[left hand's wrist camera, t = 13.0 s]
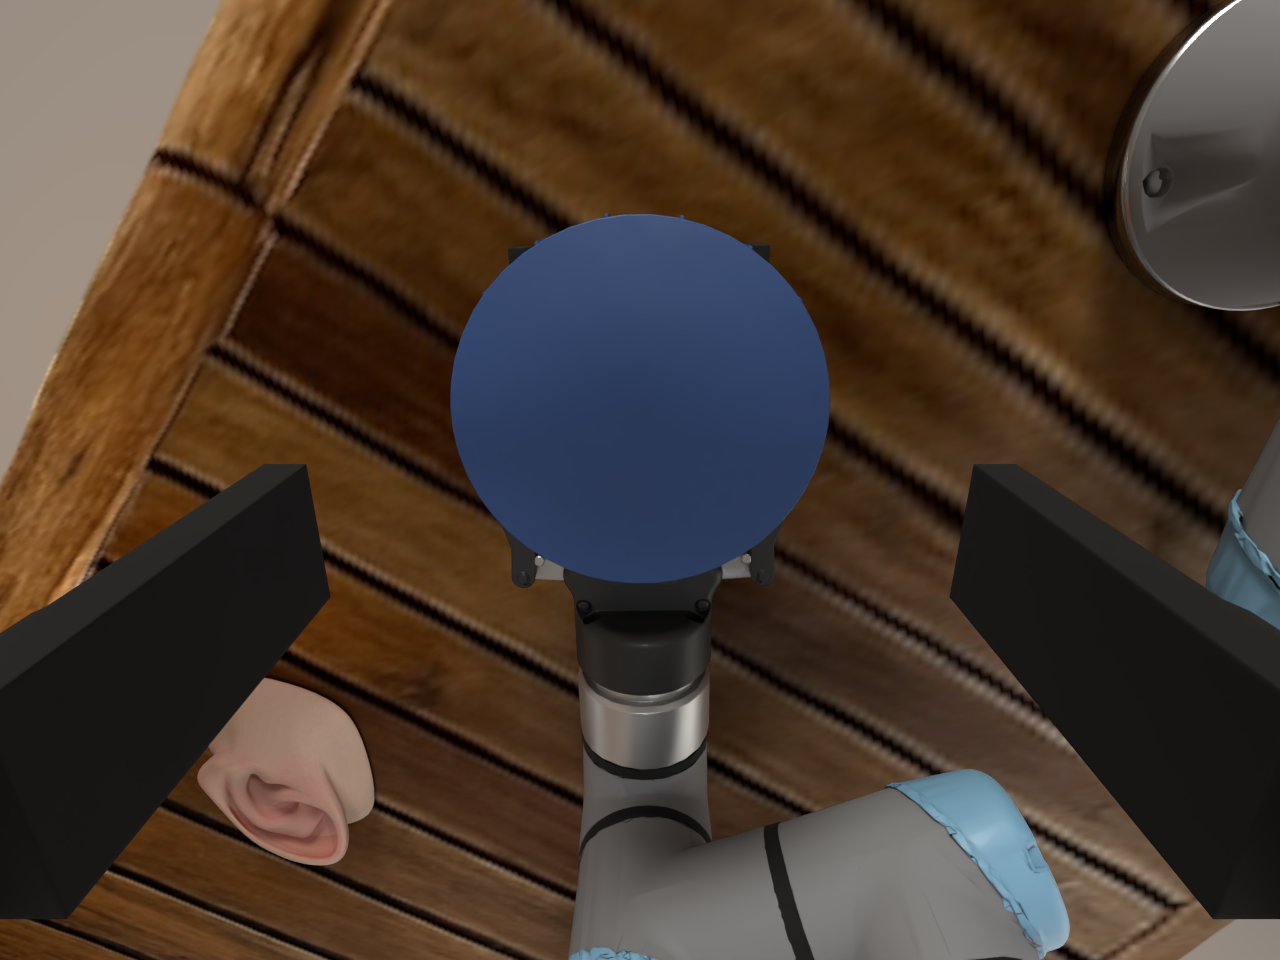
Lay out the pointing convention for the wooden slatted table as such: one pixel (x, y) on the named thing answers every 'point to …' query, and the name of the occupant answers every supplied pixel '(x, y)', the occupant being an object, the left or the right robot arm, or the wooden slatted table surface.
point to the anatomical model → (290, 773)
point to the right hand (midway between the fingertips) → (638, 245)
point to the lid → (640, 398)
